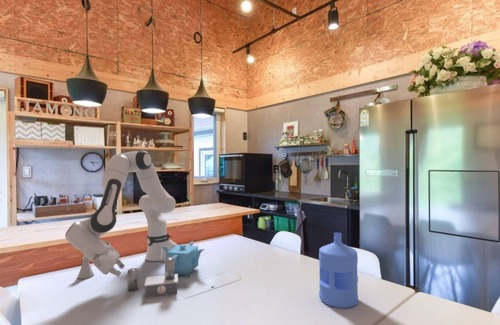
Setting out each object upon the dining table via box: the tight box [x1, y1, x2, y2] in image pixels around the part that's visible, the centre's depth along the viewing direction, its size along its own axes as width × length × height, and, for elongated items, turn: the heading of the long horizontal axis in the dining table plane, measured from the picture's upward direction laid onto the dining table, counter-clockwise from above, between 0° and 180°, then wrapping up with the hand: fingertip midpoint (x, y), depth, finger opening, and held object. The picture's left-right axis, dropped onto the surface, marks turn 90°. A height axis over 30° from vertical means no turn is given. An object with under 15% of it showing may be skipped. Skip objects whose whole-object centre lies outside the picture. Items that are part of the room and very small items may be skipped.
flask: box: [77, 256, 95, 280], centre depth 146 cm, size 7×7×10 cm
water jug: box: [318, 232, 359, 309], centre depth 120 cm, size 16×16×28 cm
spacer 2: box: [164, 257, 175, 280], centre depth 129 cm, size 4×4×9 cm
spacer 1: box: [127, 267, 139, 292], centre depth 131 cm, size 4×4×9 cm
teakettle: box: [161, 241, 206, 278], centre depth 151 cm, size 19×19×15 cm
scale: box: [144, 274, 179, 298], centre depth 128 cm, size 14×9×6 cm, turn 105°
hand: (121, 271), depth 129 cm, fingers open, 8 cm apart
